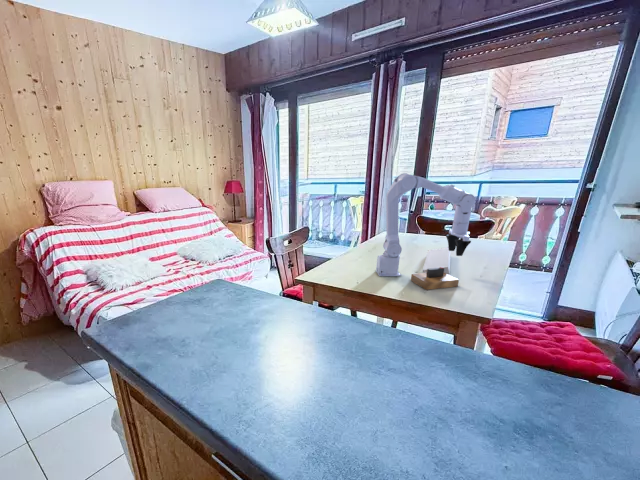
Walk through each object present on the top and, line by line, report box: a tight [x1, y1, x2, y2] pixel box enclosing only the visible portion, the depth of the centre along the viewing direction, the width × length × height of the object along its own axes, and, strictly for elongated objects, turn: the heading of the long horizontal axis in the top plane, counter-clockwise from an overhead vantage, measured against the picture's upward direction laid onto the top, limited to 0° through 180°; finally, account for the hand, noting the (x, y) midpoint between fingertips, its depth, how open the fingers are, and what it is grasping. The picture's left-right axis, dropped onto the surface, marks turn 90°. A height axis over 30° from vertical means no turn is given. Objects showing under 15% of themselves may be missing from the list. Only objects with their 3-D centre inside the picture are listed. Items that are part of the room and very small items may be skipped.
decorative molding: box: [422, 246, 451, 275], centre depth 159 cm, size 34×5×10 cm
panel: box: [410, 272, 460, 291], centre depth 138 cm, size 14×11×3 cm
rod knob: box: [426, 267, 444, 278], centre depth 136 cm, size 6×2×4 cm, turn 97°
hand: (455, 253), depth 143 cm, fingers open, 7 cm apart
